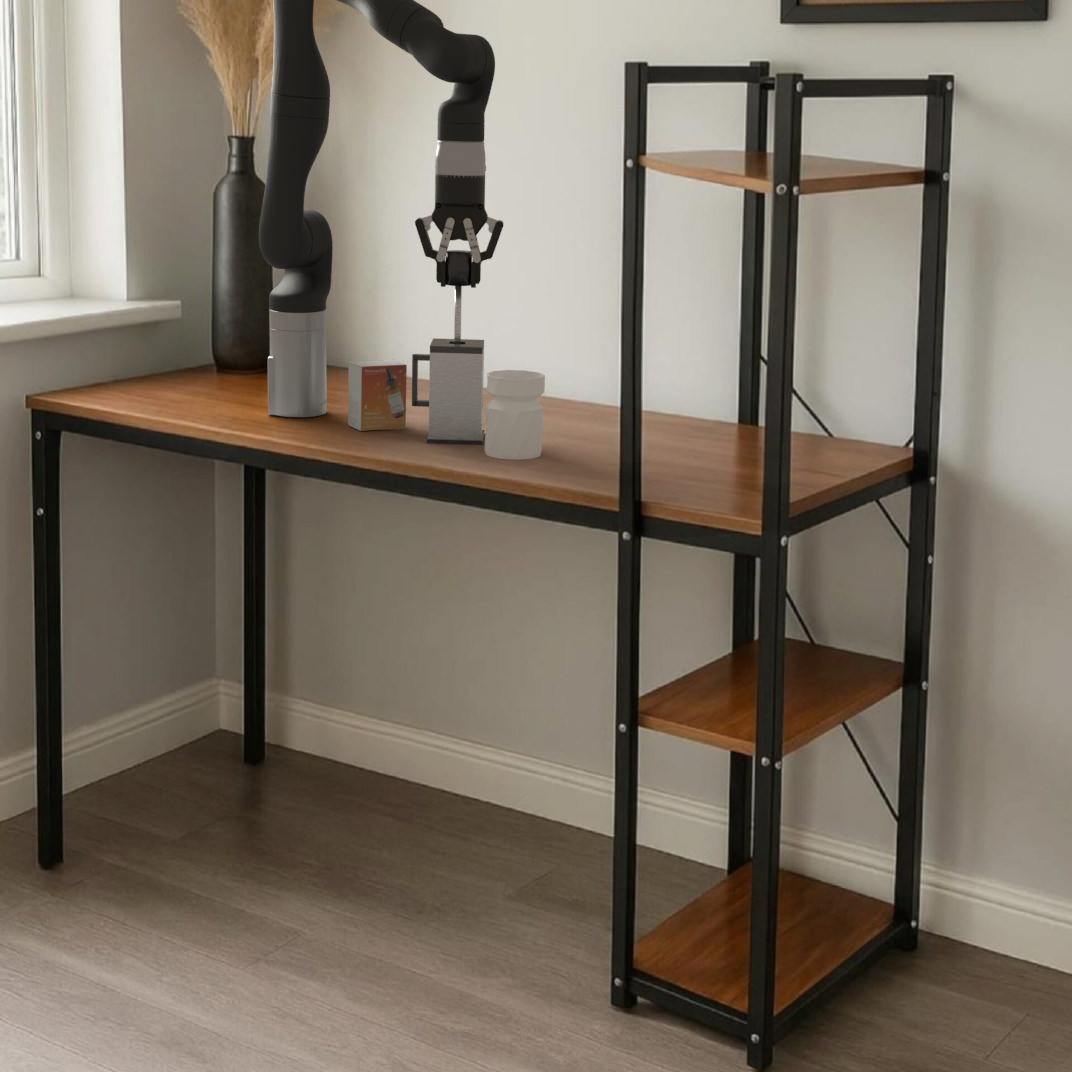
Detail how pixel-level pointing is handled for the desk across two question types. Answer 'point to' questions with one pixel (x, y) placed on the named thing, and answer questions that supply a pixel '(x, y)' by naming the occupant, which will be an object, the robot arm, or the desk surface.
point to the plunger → (458, 282)
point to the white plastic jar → (514, 414)
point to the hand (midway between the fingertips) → (458, 286)
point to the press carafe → (453, 391)
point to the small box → (377, 395)
